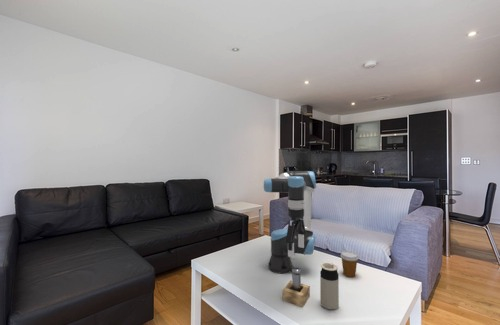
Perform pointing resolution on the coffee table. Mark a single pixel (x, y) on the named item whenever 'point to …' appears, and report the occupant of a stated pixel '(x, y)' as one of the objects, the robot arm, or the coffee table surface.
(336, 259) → the coffee table surface
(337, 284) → the travel mug
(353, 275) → the disposable coffee cup
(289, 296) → the square frame
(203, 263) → the coffee table surface
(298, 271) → the metal canister
